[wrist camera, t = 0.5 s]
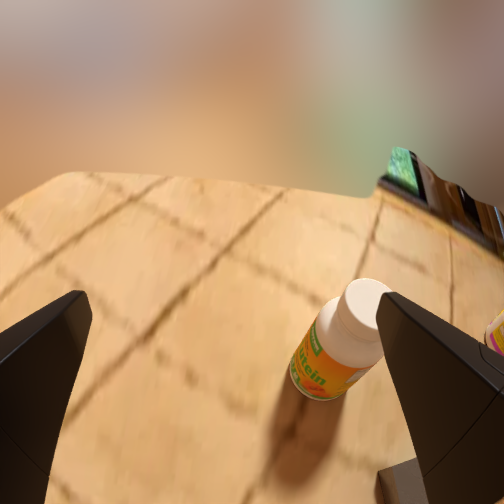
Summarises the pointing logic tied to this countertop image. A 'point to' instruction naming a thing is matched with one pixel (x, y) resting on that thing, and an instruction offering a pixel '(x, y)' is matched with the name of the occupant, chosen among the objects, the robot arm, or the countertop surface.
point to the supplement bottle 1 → (340, 343)
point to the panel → (403, 484)
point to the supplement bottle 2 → (496, 334)
